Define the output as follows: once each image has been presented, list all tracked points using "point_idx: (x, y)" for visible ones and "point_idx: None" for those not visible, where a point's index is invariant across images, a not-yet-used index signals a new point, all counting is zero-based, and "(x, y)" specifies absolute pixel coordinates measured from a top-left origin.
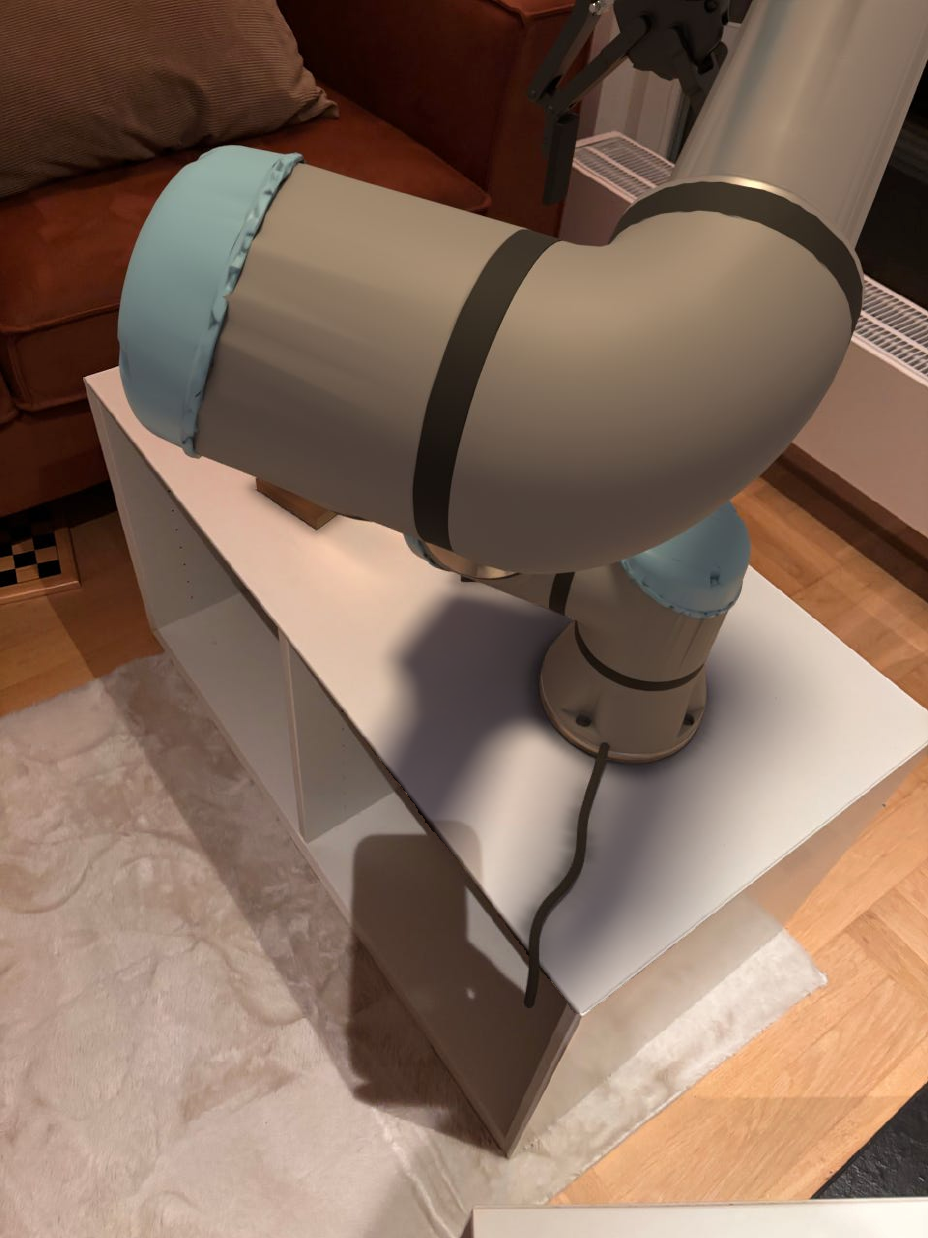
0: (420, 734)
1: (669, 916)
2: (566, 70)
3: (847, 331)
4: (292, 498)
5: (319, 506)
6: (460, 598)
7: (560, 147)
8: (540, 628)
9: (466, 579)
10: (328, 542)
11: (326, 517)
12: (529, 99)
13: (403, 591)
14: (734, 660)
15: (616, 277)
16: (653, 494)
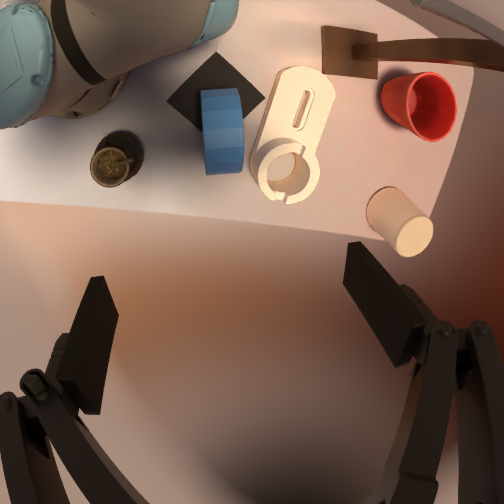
0: None
1: None
2: (457, 399)
3: None
4: (349, 31)
5: (331, 34)
6: (206, 41)
7: (390, 303)
8: (148, 63)
9: (213, 54)
10: (307, 22)
11: (323, 34)
12: (478, 321)
13: (239, 20)
14: (54, 146)
15: None
16: None
